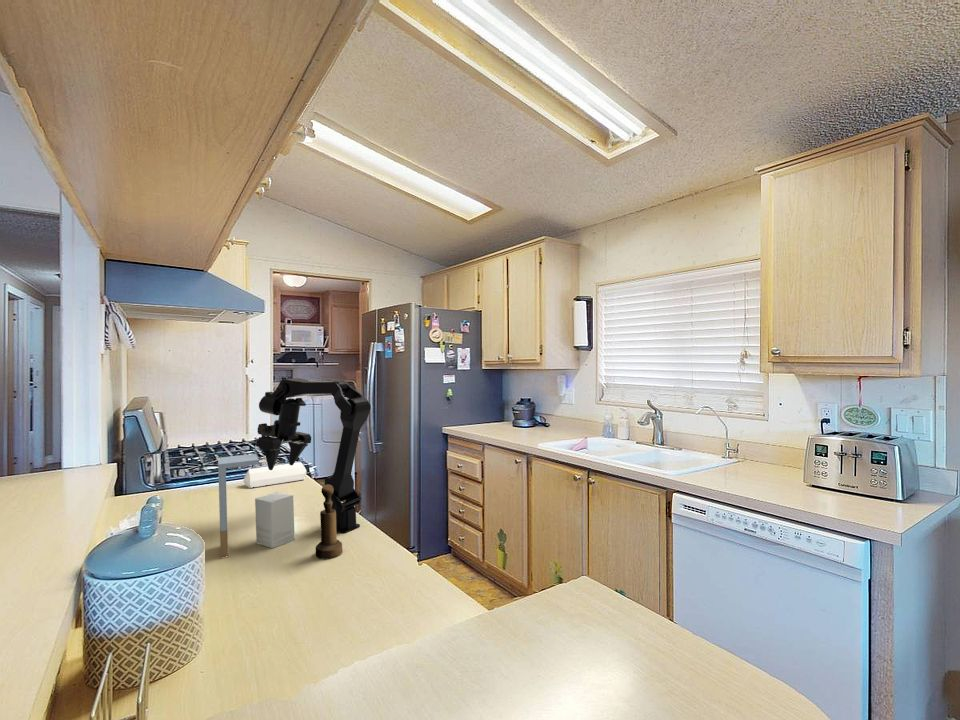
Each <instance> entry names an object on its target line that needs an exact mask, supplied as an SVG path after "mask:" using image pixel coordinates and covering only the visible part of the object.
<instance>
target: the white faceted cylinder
mask: <svg viewBox="0 0 960 720" xmlns="http://www.w3.org/2000/svg"><path fill="white" fill-rule="evenodd" d="M307 471H308V470H307V469H306V467H305V466H304V464H303V463H302V462H295V463H294V464H293V465H289V463H285V464H279V465H276V464H275V465H274V468H273V470H269V468H268V466H263V467H256V468H255V467H254V468H249V469H248V470H247V471H246V474H245V475H244V477H243V483H244V485H245V486H246V487H247V488H249V489H252V488H253V487H254V488H260V487H266V485H267V486H273V485H279V484H284V483H285V484H287V483H291V482H296V481H297V482H298V481H303V480H305V478H306V476H307Z"/></svg>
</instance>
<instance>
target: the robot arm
mask: <svg viewBox="0 0 960 720" xmlns="http://www.w3.org/2000/svg"><path fill="white" fill-rule="evenodd" d="M317 394H318V395H332V396H333V400H334V403H335V406H336V407H337V408H338V410H339V411H340V412H339V413H340V415H339V417H340V421H341V424H342V432H341V435H340V436H341V438H340V441H339V448H338V452H337V455H336V456H337V457H336V462H335V466H334V472H333V473H332V474H331V475H328V476H326V477H325V478H324V485H327V484H329V485H332V486H333V488H334V491H333V494H332V496H331V501H332V502H333V503H332V508H331V509H334V510H336V532H339V533H342V534H343V533H344V534H345V533H349V532H350V531H352V530H355V529H357V528H360V527H361V524H360V523H357V507H356V506H357V505H360V503H361V500H362V497H361V495H360V494H359V493H358V492H357V490H356V489H355V481H354V478H353V475H352V470H353V465H354V460H355V458H356V457H355V456H356V452H357V448H358V441H359V437H360V432H361V429H362V427H363V426H364V425H365V424H366V423H365V422H367V420H368V417H369V415H370V412H371V408H372V407H371V403H370V402H369V400H368V399H367V398H366V397H364V396H363V394H361V392H359V391H358V390H356V389H355V388H353V387H352V386H350V384H349V383H348V382H347V381H345V380H343V379H342V380H333V381H332V380H331V381H330V380H329V381H327V380H326V381H325V380H323V381H322V380H321V381H311V380H307V379H305V378H299V377H294V378H283V379H281V380H280V381H279V384H278V385H277V387H276V388H275V389H274V391H265V393H264V396H262V398H261V399H260V400H259V403H258V409H259V410H260V412H262V413H265V414H269V415H273V416H278V419H276V420H275V421H273V422H274V423H273V424H272V425H271V424H270V425H268V424H267V422H266V423H260V424H258V426H257V434H258V435H261V436H260V437H258V438H257V439H256V442H255V447H258V449H259V450H262V452H263V453H264V455H265V459H266V463H267V467H268V468H269V470H273V468H274V466H276V463H277V460H278V457H279V455H280V452H281V449H280V448H281V446H282V444H287V443H288V446H289V448H290V449H289V460H288V461H289V463H288V464H289V465H293V464H294V463H296V461H297V460H298V458H299V457H300V456H301V454H302V453H303V452H304V450H305V448H306V447H308V446H309V444H311V443H312V436H311V434H310V433H306V432H303V431H302V432H301V431H297V429H298V426H301V422H300V421H299V415H300V409H301V407H305V406H307V403H306V402H305V401H304V400H303V398H302V397H301V396H305V395H317ZM295 397H296V398H295Z"/></svg>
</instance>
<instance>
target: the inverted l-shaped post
mask: <svg viewBox="0 0 960 720" xmlns="http://www.w3.org/2000/svg"><path fill="white" fill-rule="evenodd" d="M257 465H260V459H259V457H258V455H257V453H252V454H251V453H250V454H249V453H248V454H239V455H231V456H224V457H223V456H221V457H218V458H217V466H218V469H217V470H218V471H217V473H218V501H219V503H218V504H219V534H220V535H219V536H220V537H219V538H220V539H219V541H220V542H219V546H220V558H221V557H226V556H228V557H229V543H228V542H229V541H228V539H229V538H228V533H229V532H228V506H227V505H228V503H227V501H228V498H227V469H231V468H239V467H247V466H257ZM226 558H227V557H226Z"/></svg>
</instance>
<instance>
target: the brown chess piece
mask: <svg viewBox="0 0 960 720" xmlns="http://www.w3.org/2000/svg"><path fill="white" fill-rule="evenodd" d="M333 491H334V488H333V486H332V485H329V484H327V485H325V484H324V485H322V488H321V491H320V492H321V494H322V496H323V497H324V501H323V507H324V509H322V510H320V513H319V518H320V542H318V544H317V545H316V546H315V557H316V558H317V557H318V558H317V559H321V558H324V559H326V558H328V559H332V558H336V557H338V555H339V556H341V554H342V553H343V542H342V541H340V540H339V539H337V537H338V536H337V531H336V510H334V509H331V508H332V503H333V502H332V501H331V496H332V494H333Z"/></svg>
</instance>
